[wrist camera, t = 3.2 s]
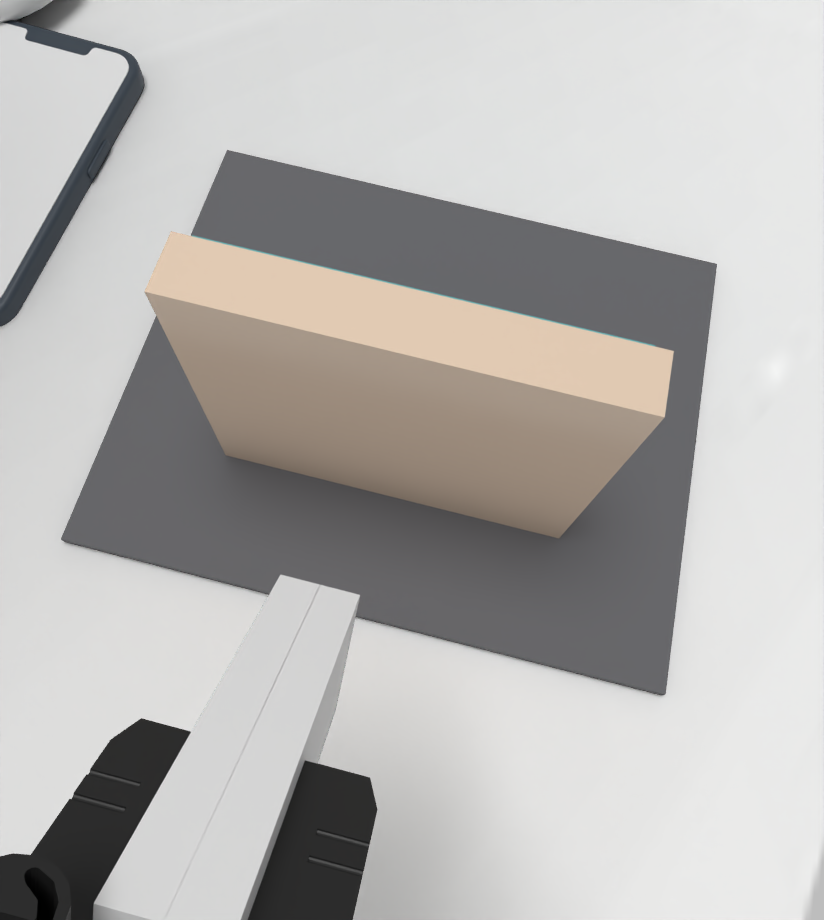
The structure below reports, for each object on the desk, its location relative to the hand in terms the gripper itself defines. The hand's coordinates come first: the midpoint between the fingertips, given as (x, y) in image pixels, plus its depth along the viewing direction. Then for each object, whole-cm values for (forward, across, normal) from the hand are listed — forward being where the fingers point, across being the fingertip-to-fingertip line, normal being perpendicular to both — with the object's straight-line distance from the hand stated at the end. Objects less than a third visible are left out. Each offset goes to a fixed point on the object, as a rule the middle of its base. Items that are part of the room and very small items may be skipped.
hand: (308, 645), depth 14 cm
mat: (+20, 0, -2) cm, 20 cm away
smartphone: (+25, -22, +2) cm, 33 cm away
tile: (+17, 0, -4) cm, 18 cm away
